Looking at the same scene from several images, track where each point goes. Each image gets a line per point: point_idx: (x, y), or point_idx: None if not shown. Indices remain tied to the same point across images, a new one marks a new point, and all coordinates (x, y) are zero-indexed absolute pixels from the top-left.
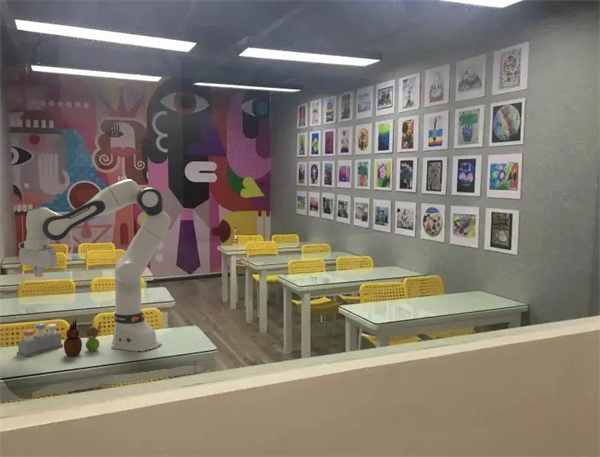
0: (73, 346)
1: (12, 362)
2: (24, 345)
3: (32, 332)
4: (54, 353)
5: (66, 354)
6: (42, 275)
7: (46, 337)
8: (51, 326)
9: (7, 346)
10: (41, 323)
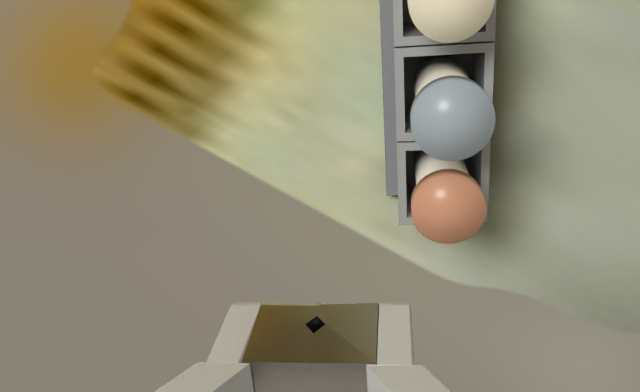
0: None
1: (492, 272)
2: None
3: (484, 198)
4: (571, 59)
5: None
6: (408, 309)
7: (492, 74)
8: (483, 23)
9: (199, 135)
10: (441, 102)
